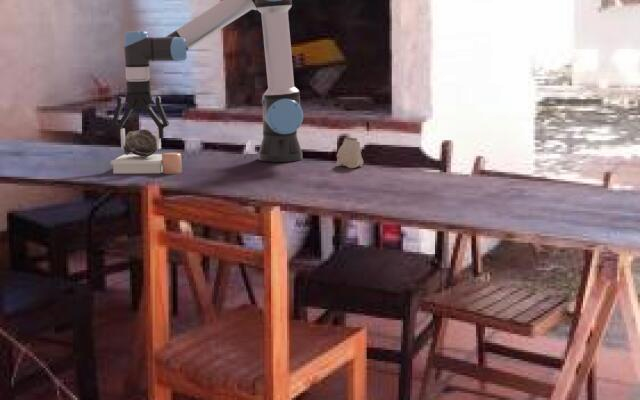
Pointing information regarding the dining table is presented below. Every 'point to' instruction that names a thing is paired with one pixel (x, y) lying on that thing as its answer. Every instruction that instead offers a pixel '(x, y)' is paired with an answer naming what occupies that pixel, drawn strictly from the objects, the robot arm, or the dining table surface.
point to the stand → (138, 164)
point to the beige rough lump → (350, 153)
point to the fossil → (140, 143)
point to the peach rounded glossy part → (171, 163)
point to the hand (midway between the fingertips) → (141, 148)
